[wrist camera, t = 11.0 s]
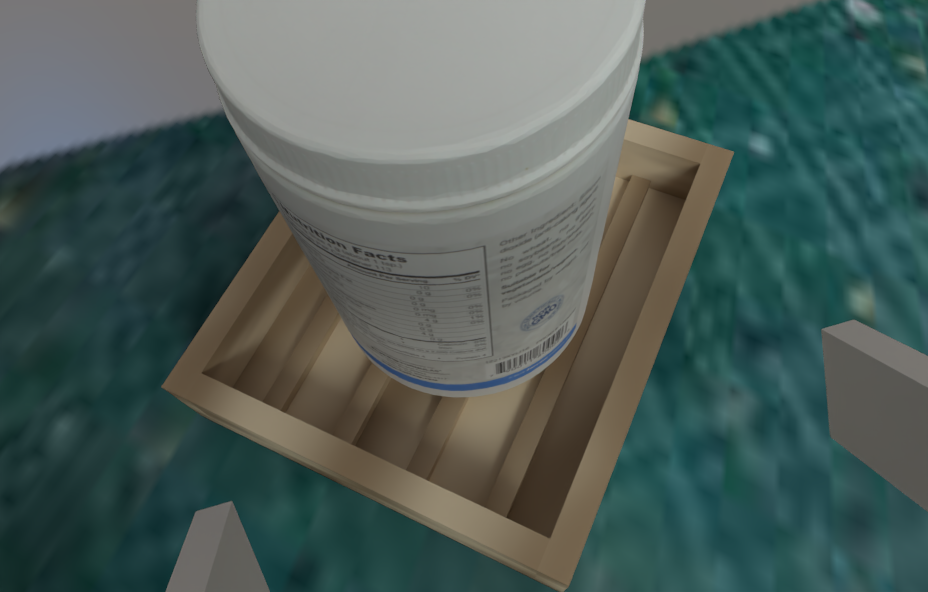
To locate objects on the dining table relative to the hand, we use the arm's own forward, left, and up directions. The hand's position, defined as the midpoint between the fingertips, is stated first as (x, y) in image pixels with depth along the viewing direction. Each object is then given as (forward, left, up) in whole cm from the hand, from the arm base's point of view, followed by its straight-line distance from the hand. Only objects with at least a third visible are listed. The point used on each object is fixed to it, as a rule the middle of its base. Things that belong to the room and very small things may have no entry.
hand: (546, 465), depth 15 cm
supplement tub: (-6, +7, -9) cm, 13 cm away
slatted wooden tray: (-6, +7, -11) cm, 14 cm away
